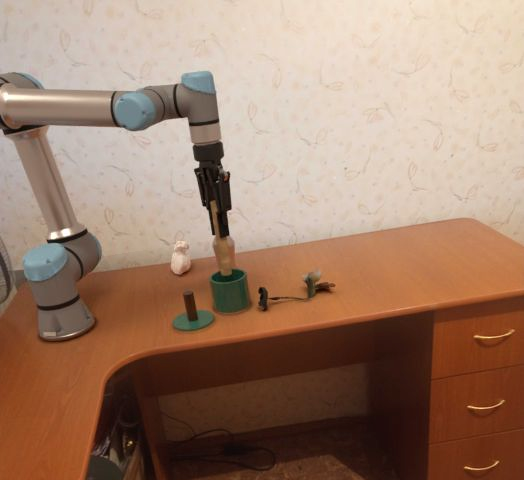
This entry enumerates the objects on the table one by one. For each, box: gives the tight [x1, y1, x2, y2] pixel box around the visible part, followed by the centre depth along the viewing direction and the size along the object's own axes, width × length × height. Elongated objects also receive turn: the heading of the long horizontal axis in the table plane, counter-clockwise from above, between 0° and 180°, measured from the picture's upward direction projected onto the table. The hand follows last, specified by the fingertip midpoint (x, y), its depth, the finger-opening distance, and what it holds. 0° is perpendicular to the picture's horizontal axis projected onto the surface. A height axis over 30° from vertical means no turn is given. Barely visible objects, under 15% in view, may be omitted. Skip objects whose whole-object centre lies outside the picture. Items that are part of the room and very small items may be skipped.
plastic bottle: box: [212, 234, 238, 271], centre depth 158 cm, size 6×7×20 cm
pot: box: [208, 268, 251, 314], centre depth 150 cm, size 10×10×10 cm
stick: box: [210, 200, 232, 276], centre depth 142 cm, size 3×3×20 cm
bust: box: [170, 240, 192, 276], centre depth 179 cm, size 12×8×11 cm
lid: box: [172, 290, 215, 332], centre depth 144 cm, size 11×11×9 cm
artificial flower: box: [257, 268, 336, 311], centre depth 150 cm, size 9×22×10 cm, turn 107°
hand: (220, 235), depth 142 cm, fingers closed on stick, 3 cm apart
